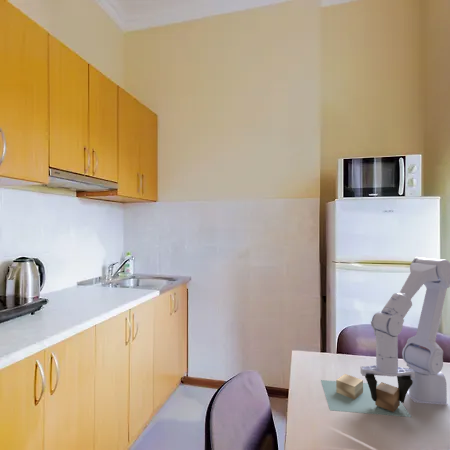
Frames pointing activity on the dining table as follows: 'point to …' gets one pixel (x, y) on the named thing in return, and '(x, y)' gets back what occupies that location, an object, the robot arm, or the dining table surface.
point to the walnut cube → (387, 396)
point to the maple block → (349, 386)
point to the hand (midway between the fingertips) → (387, 400)
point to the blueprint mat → (357, 402)
